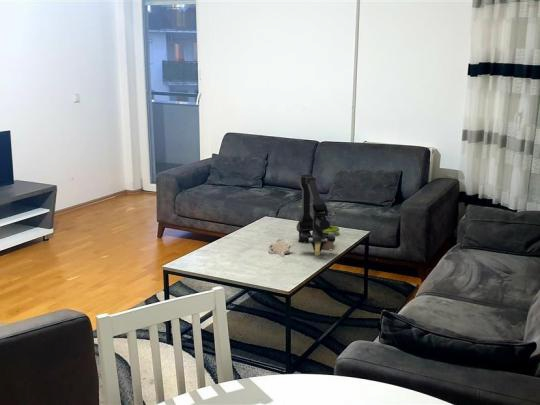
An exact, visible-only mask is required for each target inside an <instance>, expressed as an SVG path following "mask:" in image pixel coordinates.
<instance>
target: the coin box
mask: <svg viewBox="0 0 540 405" xmlns="http://www.w3.org/2000/svg"><path fill="white" fill-rule="evenodd" d="M323 233H325V236H328V234H335V233H331V232H323ZM316 244H320V246H321V242H315V245H316ZM333 244H335V242H329V241H328V239H327V242H326V243H324V245H323V247H322V250H324V249H332V250H331V251H334V245H333Z"/></svg>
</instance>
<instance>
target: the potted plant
mask: <svg viewBox="0 0 540 405" xmlns="http://www.w3.org/2000/svg"><path fill="white" fill-rule="evenodd" d="M334 216H335V209H330V212H328V216H325V217H326V219H327V220H328V221H329V223H330V226H329V228H328V229H326V230H323V232H331V233H334V234H335V233H338V232H339V231H340V228H339V227H338V226H335V225H331V223H332V222H331V221H333V222H334V219H332V217H334Z"/></svg>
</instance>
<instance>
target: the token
mask: <svg viewBox="0 0 540 405" xmlns="http://www.w3.org/2000/svg"><path fill="white" fill-rule="evenodd" d="M316 255H319V256H320V255H321V252H320V244H316V245H315V252H314V256H316Z"/></svg>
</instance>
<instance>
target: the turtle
mask: <svg viewBox="0 0 540 405" xmlns="http://www.w3.org/2000/svg"><path fill="white" fill-rule="evenodd" d="M285 241H286V239H285V238H283V237H281V238H277V239H276V240H275V242H274V243H271V244H270V245H269V247H268V253H270V254H276V255H280V256H281V257H284V256H285V255H286V254H289V253H290V251H291V247H294V246H295V245H296V243H290V244H289V243H288V242H285Z"/></svg>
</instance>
